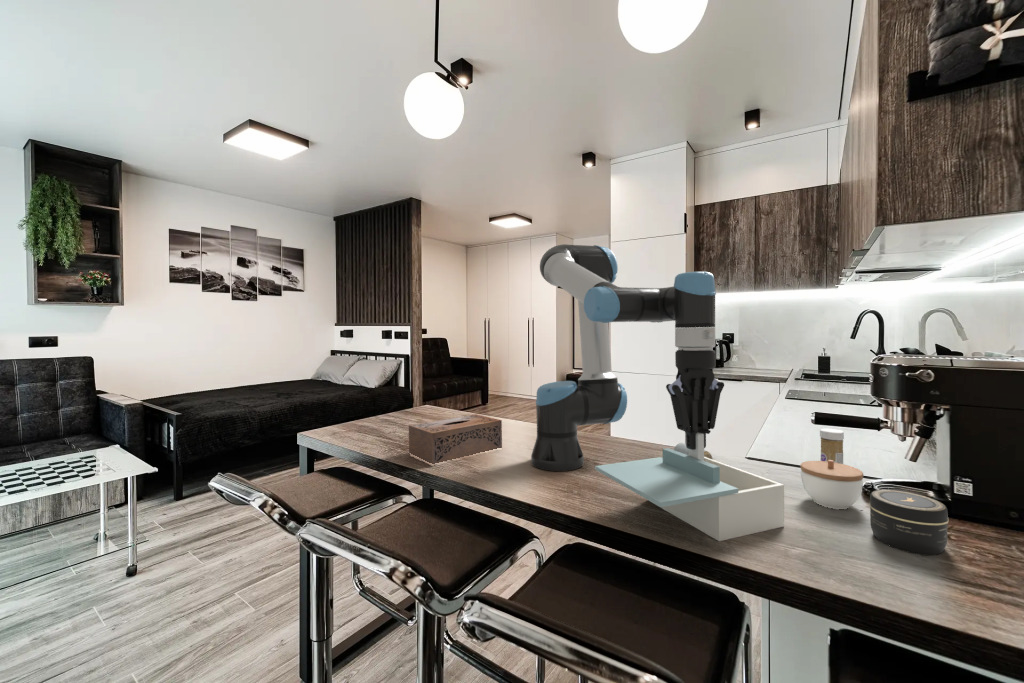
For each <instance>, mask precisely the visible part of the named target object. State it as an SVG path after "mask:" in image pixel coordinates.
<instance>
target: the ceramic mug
mask: <svg viewBox="0 0 1024 683" xmlns="http://www.w3.org/2000/svg"><path fill="white" fill-rule="evenodd" d="M673 450H675V451H678V452H681V453H683V454H686V455H688V448H687V447H686V443H685V442H684V443H683V442H678V443H677V444H676V445H675V446H674V448H673ZM704 457H707V458H710V459H712V460H714V459H713V456H712V454H711V452H709V451H708V450H706V449H704Z"/></svg>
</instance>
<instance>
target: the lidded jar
mask: <svg viewBox="0 0 1024 683" xmlns="http://www.w3.org/2000/svg"><path fill="white" fill-rule="evenodd" d="M800 473H801V474H800V475H801V482H802V485H803V488H804V491H805V492H806V493H807V495H808V497H810V498H811V499H812V501H813V503H815V502H816V503H817V505H818V504H819V506H820V505H822V506H821V507H823V506H824V507H823V508H827V507H828V508H827V509H831V508H833V509H832V510H839V509H844V510H847V508H848V509H850V507H852V506H853V505H855V504H856V503H857V502H858V501H859V499H860V497H861V495H862V491H863V485H864V484H863V482H864V481H863V479H864V472H863V471H862V470H860V469H859V468H856V467H855V466H850V465H847V464H844V463H843V464H840V463H834V461H833V460H828V462H827V461H820V460H807V461H806V460H805V461H803V462H801V463H800ZM816 503H815V504H816Z"/></svg>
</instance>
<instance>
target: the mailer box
mask: <svg viewBox="0 0 1024 683" xmlns="http://www.w3.org/2000/svg"><path fill="white" fill-rule="evenodd" d="M712 459H713V458H712ZM712 459H710V458H707V457H704V461H705V462H708V463H711V464H713V465H716V466H719V467H720V481H721V482H723V483H726V484H728V485H731V486H733V487H736V488H738V493H735V494H730V495H725V496H719V497H714V498H708V499H703V500H698V501H692V502H687V503H681V504H676V505H670V506H665V507H660V509H662V510H664V511H666V512H668V513H670V514H671V515H672V516H675V517H676V518H678V519H679V520H681V521H683V522H685V523H686V524H688V525H690V526H692V527H693V528H696V529H697V530H699V531H701V532H702V533H704V534H706V535H707V536H709V537H711V538H713V539H714V540H717V541H718V542H723V541H726V540H732V539H736V538H739V537H740V538H741V537H745V536H748V535H749V536H750V535H752V534H756V533H761V532H765V531H771V530H774V529H778V528H783V527H785V484H783V483H780V482H778V481H775V480H772V479H769V478H767V477H764V476H760V475H758V474H755V473H752V472H749V471H746V470H744V469H740V468H738V467H735V466H732V465H728V464H726V463H724V462H720V461H718V460H715V459H713V460H712ZM647 501H649V500H647ZM649 502H650V501H649ZM654 505H655V506H657V505H656V504H654Z"/></svg>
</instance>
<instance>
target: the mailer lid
mask: <svg viewBox="0 0 1024 683" xmlns="http://www.w3.org/2000/svg"><path fill="white" fill-rule="evenodd" d="M594 470H595V471H597V472H598V473H601V474H602V475H604V477H608V478H609V479H611V480H612V481H614V482H616V483H617V484H620V486H622V487H625V488H627V489H628V490H630V491H632V492H633V493H635V494H636V495H639V496H640V497H642V498H644V499H645V500H647V501H648V500H649V503H652V504H654V505H655V504H656V505H655V506H657V507H659V508H661V507H665V506H670V505H676V504H681V503H687V502H692V501H698V500H703V499H708V498H714V497H719V496H725V495H730V494H735V493H738V488H736V487H733V486H731V485H728V484H726V483H723V482H721V481H720V467H719V466H716V465H713V464H711V463H708V462H705V461H702V460H700V459H697V458H694V457H691V456H689V455H686V454H683V453H681V452H678V451H675V450H674V449H672V448H670V447H668V448H667V447H666V448H662V456H659V457H652V458H645V459H637V460H636V459H635V460H628V461H622V462H615V463H608V464H601V465H595V466H594Z"/></svg>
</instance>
